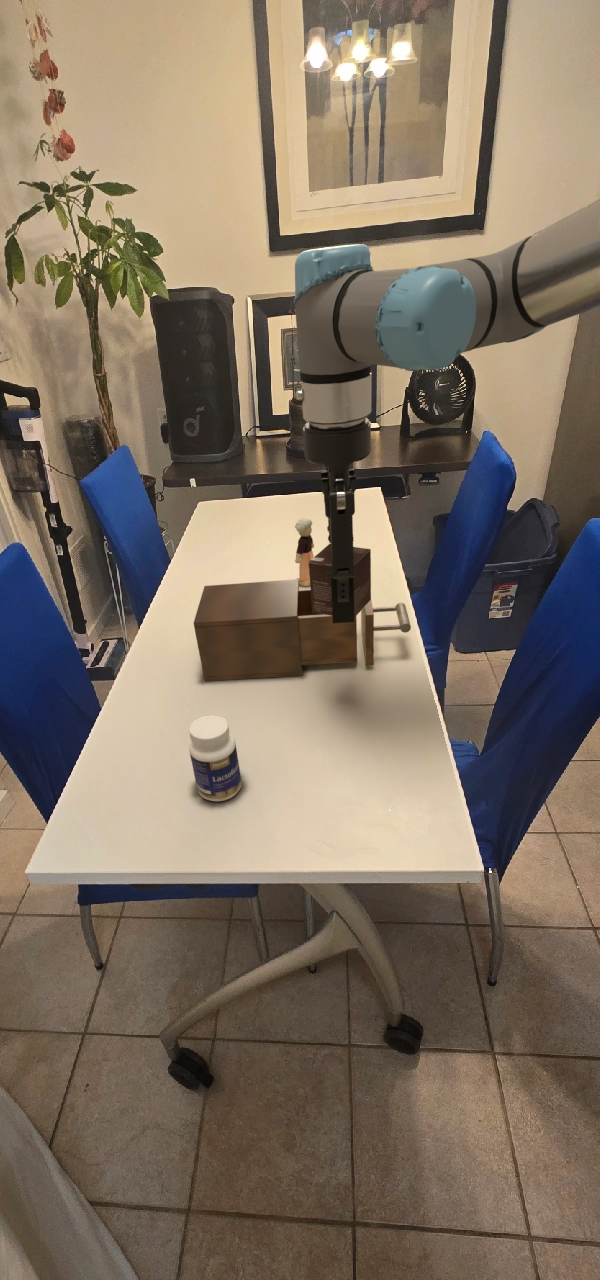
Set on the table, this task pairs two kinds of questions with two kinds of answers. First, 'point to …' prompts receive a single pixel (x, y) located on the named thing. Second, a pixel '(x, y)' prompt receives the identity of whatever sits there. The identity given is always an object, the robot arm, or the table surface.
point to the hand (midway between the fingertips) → (341, 605)
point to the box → (322, 585)
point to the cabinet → (249, 630)
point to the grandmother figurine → (304, 550)
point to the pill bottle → (214, 758)
